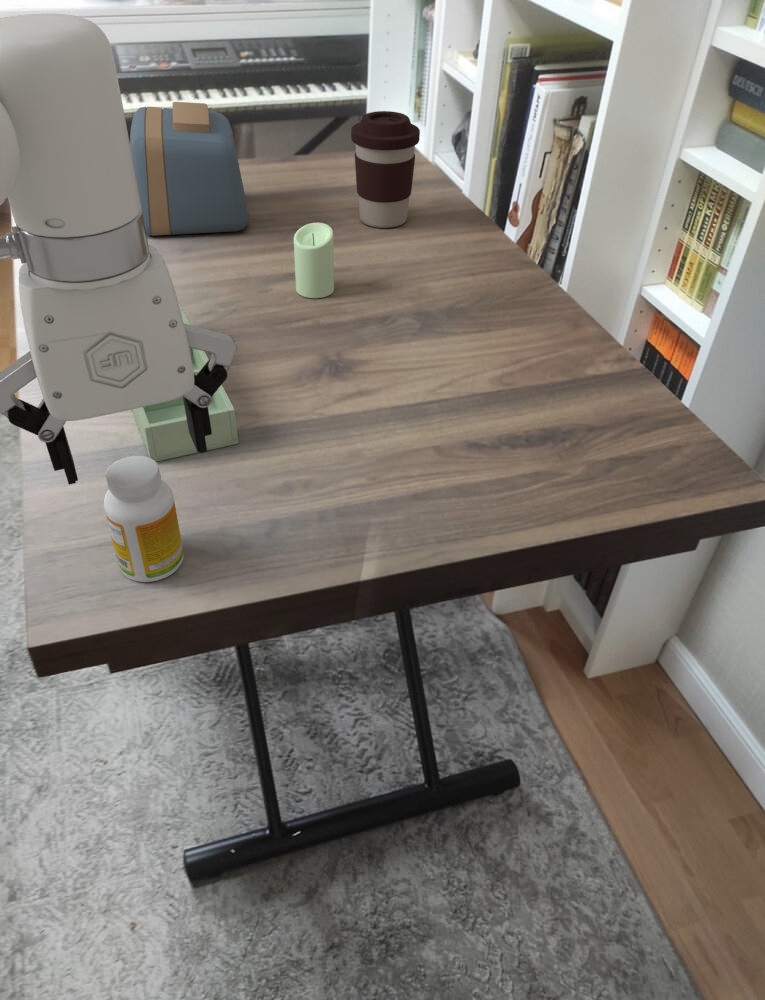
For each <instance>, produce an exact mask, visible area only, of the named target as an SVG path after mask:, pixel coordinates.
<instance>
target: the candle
mask: <svg viewBox="0 0 765 1000" xmlns="http://www.w3.org/2000/svg"><path fill="white" fill-rule="evenodd" d="M334 254H335V253H334V230H333V229H332V227H331V226H330V225H328V224H327V223H324V222H312V223H307V224H305V225H303V226H302V227H300V228H298V230H297V231H296V232H295V234H294V235H293V255H294V276H295V278H294V279H295V292H296V293H297V294H298V295H299V296H301V297H303V298H306V299H323V298H326V297H329V296H331V295H332V294H333V293H334V291H335V267H334V266H335V262H334V261H335V258H334Z"/></svg>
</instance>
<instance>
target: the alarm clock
mask: <svg viewBox="0 0 765 1000" xmlns="http://www.w3.org/2000/svg"><path fill="white" fill-rule="evenodd" d="M131 120H132V121H131V126H130V134H129V142H130V148H131V153H132V159H133V164H134V170H135V175H136V181H137V186H138V192H139V197H140V203H141V208H142V213H143V219H144V224H145V230H146V235H147V236H151V237H152V236H153V237H154V236H171V235H193V234H210V233H229V232H232V233H233V232H239V231H242V230H244V229H245V228H246V226H247V225H248V224H249V217H250V214H249V209H248V203H247V200H246V199H247V198H246V194H245V189H244V184H243V178H242V174H241V168H240V163H239V157H238V153H237V148H236V143H235V142H236V141H235V138H234V133H233V129H232V126H231V123H230V120H229V119H228V118H227V116H225V115H224V114H222V113H220V112H216V111H209V105H208V104H207V103H204V102H187V101H173V102H172V108H171V107H161V106H159V107H158V106H142V107H138V108H137V110H135V112H133V116H132V119H131Z"/></svg>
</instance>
